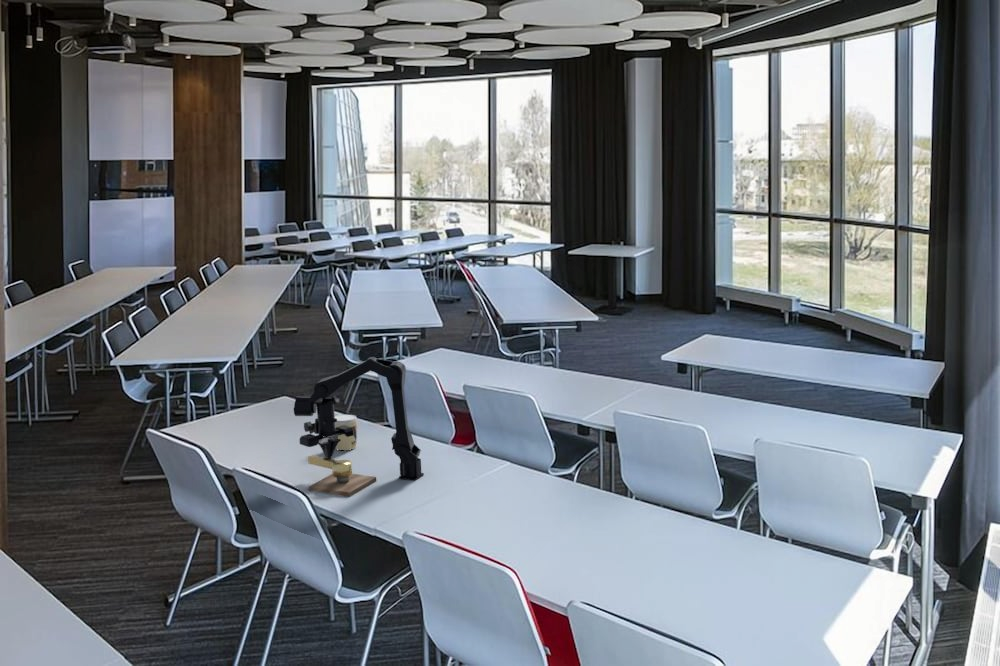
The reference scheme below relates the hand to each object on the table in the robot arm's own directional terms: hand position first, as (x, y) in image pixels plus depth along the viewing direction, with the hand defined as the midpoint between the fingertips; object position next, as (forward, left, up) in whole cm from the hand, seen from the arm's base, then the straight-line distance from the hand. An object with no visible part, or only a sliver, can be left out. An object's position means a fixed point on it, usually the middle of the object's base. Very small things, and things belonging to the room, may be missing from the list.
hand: (328, 459), depth 315 cm
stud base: (-10, +6, -6) cm, 13 cm away
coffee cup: (+13, -30, -6) cm, 33 cm away
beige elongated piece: (-4, +5, -2) cm, 7 cm away
